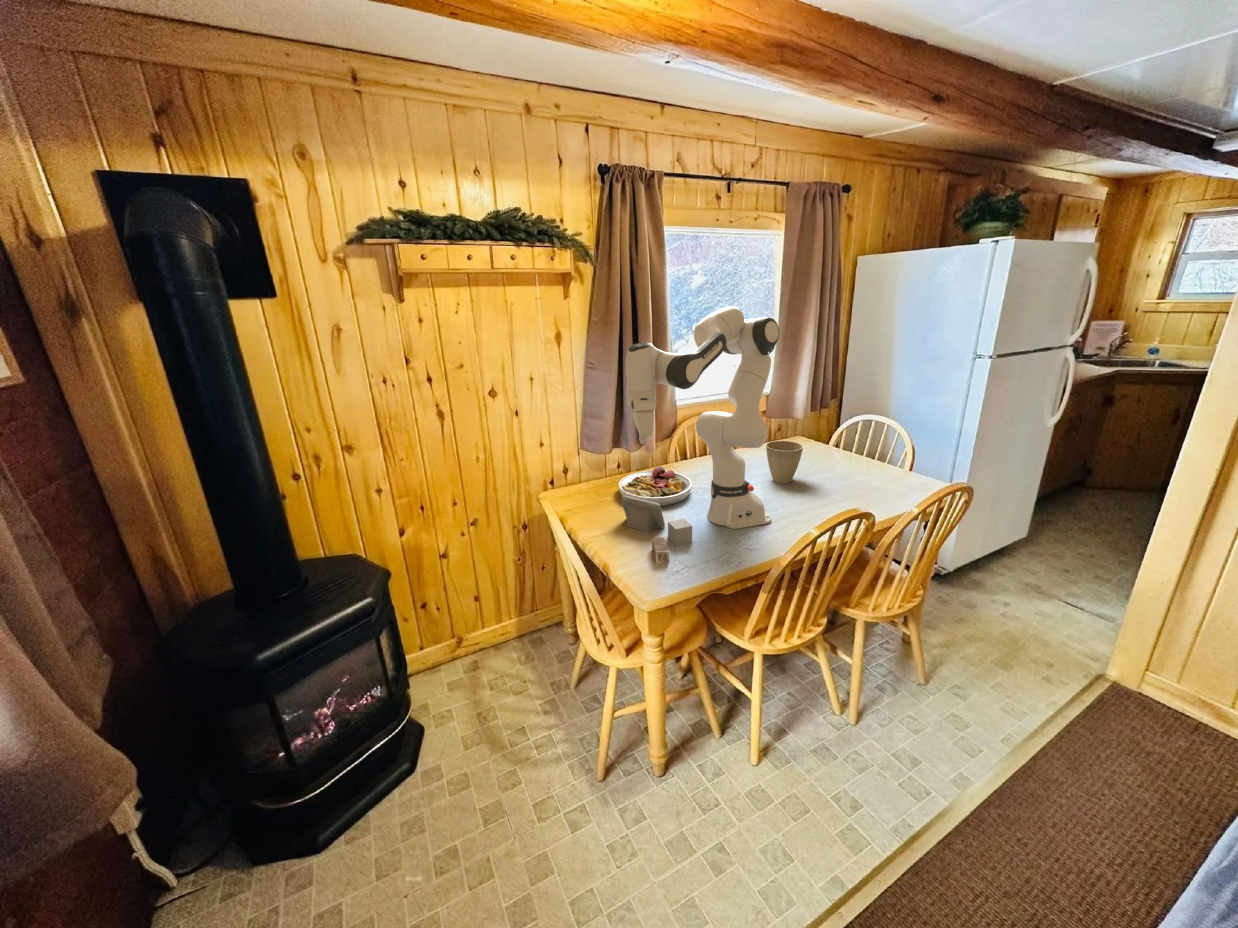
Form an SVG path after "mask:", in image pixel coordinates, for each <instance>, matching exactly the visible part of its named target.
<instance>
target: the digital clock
mask: <svg viewBox="0 0 1238 928" xmlns="http://www.w3.org/2000/svg"><path fill="white" fill-rule="evenodd" d="M620 499H621V501H620V502H621V504H622V507H623V511H624V514H625V517H626V519H625V520H626V521H625V522H626V528H630V529H633V530H636V531H641V532H644V533H649V532H651V531H652V530H654V529H655V528H658V529H664V528H665V527H666V526H665V524H666V523H665V519H664V515H663V511H662V506H660V504H658V503H655V502H651V501H646V500H642V499H638V498H634V497H629V496H622V495H621V498H620Z"/></svg>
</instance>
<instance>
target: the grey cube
mask: <svg viewBox="0 0 1238 928" xmlns="http://www.w3.org/2000/svg"><path fill="white" fill-rule="evenodd" d="M667 538H668V539H669V540H670V541H671V542H672V543H673V544H674V545H675V546H679V545H685V544H689V543H693V525H692V524H691V523H690V522H689V521H688V520H687V519H685V518H681V519H675V520H670V521H669V520H668V521H667Z"/></svg>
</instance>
